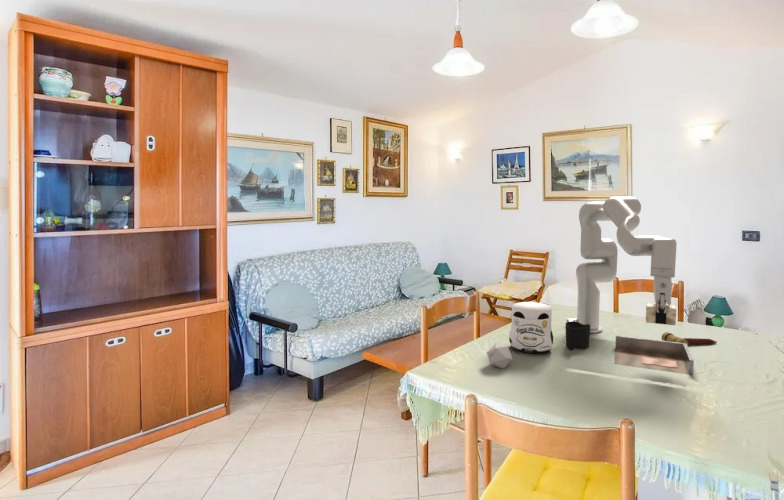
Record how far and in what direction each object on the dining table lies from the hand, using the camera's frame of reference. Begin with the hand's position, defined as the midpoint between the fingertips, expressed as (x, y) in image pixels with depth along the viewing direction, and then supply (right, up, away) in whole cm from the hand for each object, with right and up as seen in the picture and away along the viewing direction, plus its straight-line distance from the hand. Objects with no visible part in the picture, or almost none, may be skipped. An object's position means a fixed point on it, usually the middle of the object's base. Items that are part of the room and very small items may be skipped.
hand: (660, 321), depth 162 cm
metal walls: (-1, -16, +5) cm, 17 cm away
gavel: (+28, -14, +24) cm, 40 cm away
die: (-58, -17, +4) cm, 60 cm away
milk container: (-40, -15, +22) cm, 48 cm away
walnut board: (-1, -16, +5) cm, 17 cm away
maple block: (0, 0, 0) cm, 0 cm away
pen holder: (-21, -15, +22) cm, 34 cm away
